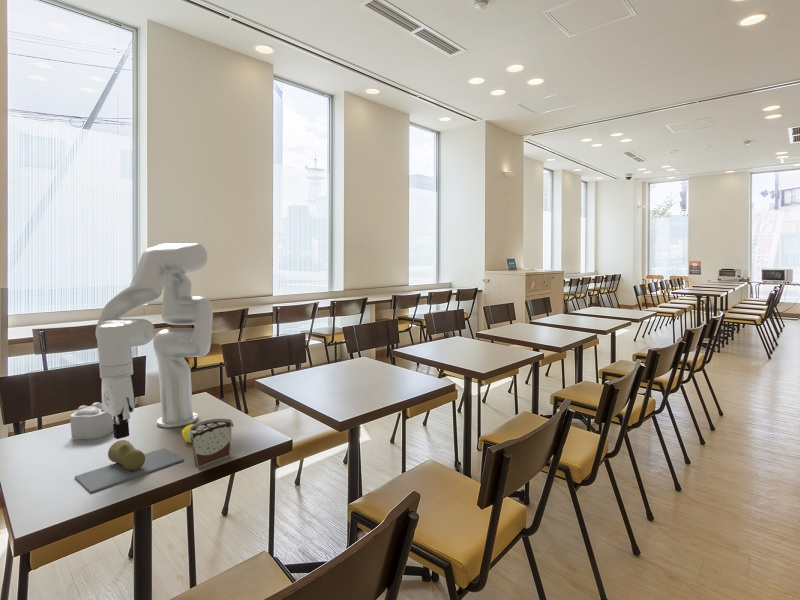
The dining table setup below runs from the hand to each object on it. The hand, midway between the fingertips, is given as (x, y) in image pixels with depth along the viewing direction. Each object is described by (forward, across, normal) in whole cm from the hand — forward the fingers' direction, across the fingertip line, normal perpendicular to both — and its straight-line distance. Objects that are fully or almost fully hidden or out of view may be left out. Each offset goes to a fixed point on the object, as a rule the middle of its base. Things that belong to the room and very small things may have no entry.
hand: (121, 436), depth 124 cm
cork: (+5, -2, 0) cm, 5 cm away
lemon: (+8, 0, +19) cm, 21 cm away
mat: (+8, +5, 0) cm, 9 cm away
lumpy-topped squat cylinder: (+8, -33, +4) cm, 34 cm away
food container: (+8, +15, +16) cm, 23 cm away
